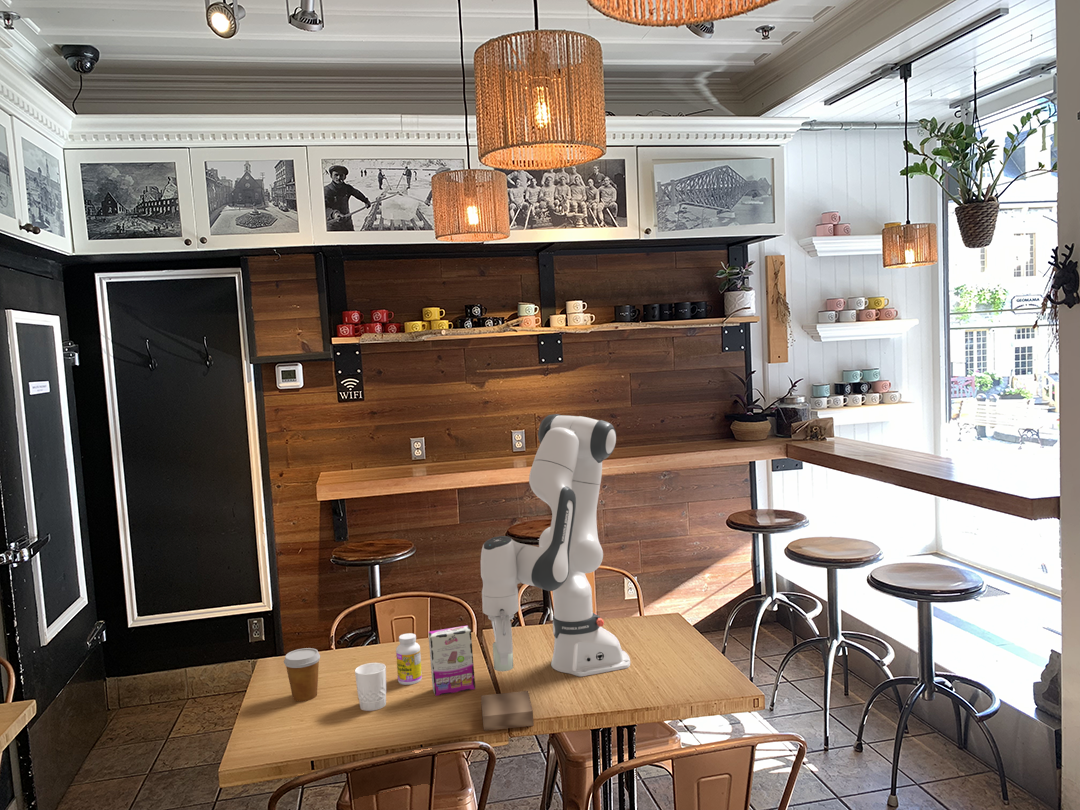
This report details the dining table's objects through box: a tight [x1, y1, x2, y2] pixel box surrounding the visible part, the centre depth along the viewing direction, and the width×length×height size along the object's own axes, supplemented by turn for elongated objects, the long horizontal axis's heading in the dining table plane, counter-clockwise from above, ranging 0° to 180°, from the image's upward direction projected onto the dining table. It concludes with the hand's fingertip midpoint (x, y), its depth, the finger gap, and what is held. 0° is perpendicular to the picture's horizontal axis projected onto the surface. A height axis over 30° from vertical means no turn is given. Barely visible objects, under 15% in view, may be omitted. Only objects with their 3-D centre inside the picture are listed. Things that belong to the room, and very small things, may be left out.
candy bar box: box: [427, 625, 476, 697], centre depth 219 cm, size 11×5×16 cm, turn 106°
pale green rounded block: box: [492, 641, 514, 672], centre depth 200 cm, size 5×5×6 cm
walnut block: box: [480, 690, 535, 732], centre depth 201 cm, size 12×12×4 cm
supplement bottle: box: [395, 632, 423, 686], centre depth 227 cm, size 7×7×13 cm
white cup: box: [354, 662, 387, 712], centre depth 212 cm, size 8×8×10 cm
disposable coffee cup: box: [283, 647, 321, 702], centre depth 220 cm, size 10×10×12 cm
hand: (503, 659), depth 200 cm, fingers closed on pale green rounded block, 5 cm apart
